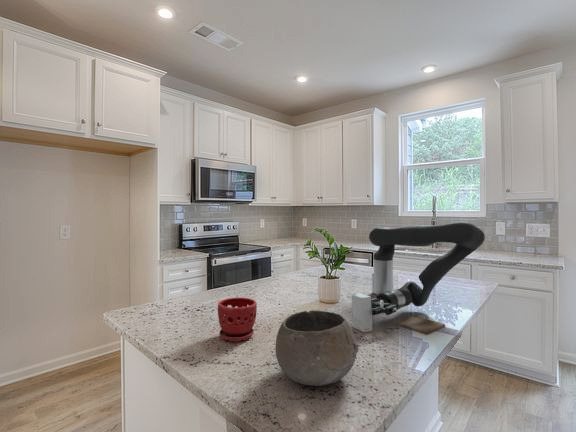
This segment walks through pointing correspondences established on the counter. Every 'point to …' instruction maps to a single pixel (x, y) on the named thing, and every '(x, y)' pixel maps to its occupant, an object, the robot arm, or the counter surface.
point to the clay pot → (315, 347)
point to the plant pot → (237, 318)
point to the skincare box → (362, 312)
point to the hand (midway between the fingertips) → (363, 309)
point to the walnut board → (420, 324)
